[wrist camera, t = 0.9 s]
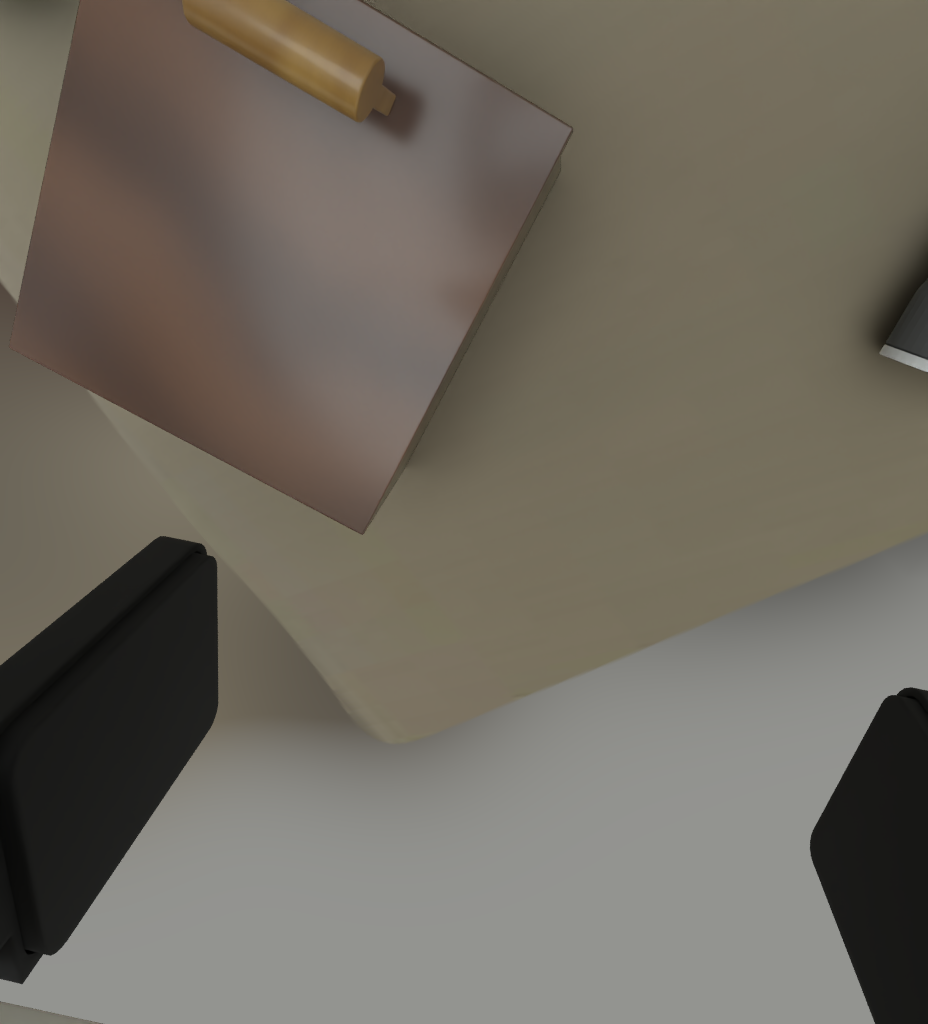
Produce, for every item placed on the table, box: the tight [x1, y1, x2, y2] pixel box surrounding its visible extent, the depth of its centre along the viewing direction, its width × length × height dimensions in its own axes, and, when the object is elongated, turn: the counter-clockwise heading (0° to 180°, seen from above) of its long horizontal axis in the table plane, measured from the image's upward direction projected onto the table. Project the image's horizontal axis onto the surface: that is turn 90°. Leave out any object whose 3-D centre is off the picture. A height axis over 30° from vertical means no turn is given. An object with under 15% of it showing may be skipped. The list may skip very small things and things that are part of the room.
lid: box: [9, 0, 573, 535], centre depth 23 cm, size 17×17×5 cm
